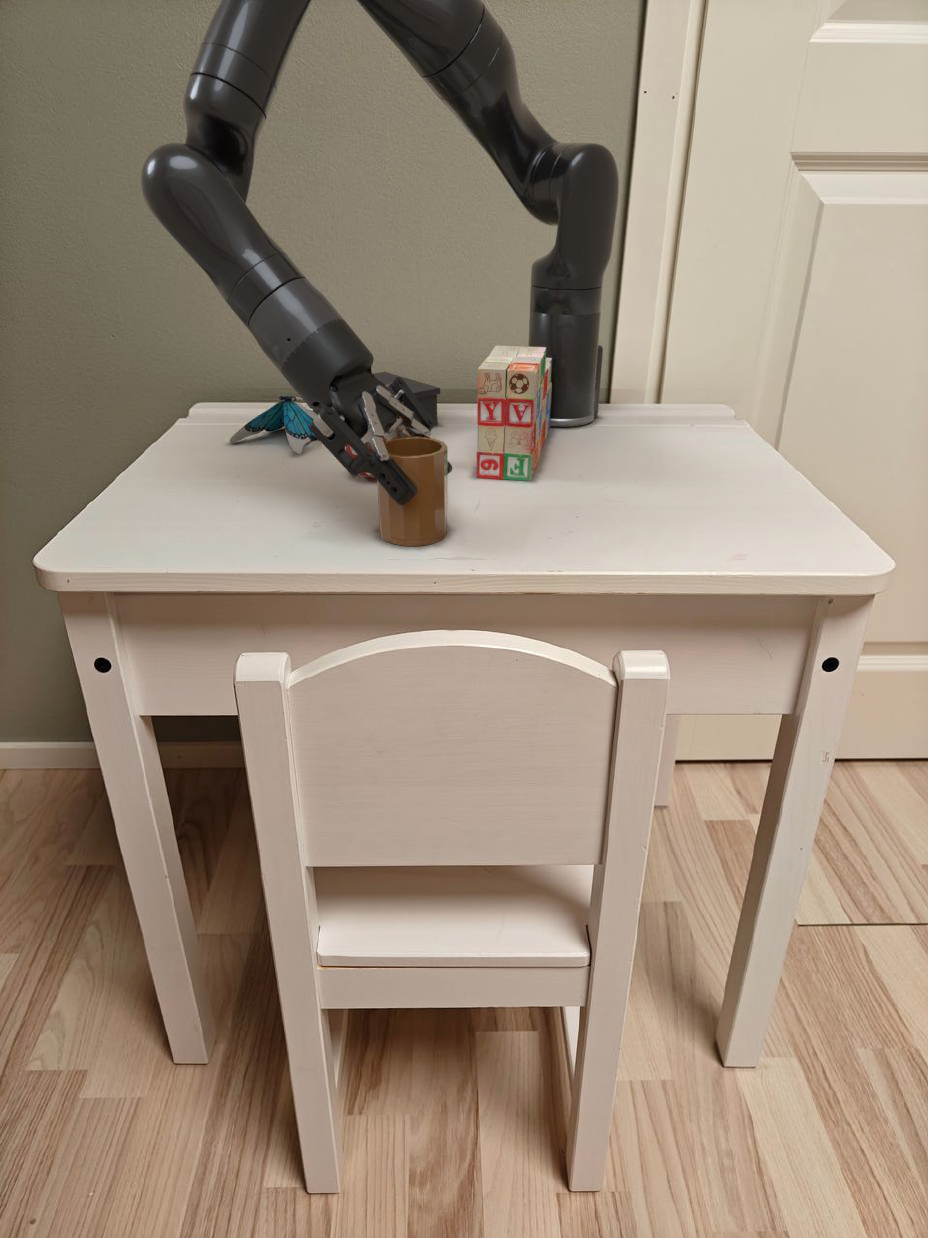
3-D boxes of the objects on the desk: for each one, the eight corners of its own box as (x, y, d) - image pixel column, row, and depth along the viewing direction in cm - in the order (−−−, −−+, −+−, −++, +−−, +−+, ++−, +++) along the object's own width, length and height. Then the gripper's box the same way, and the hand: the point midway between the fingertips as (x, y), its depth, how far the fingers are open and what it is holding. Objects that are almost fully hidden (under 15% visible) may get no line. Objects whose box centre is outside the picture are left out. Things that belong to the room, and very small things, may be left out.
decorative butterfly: (342, 401, 111) (297, 398, 102) (339, 452, 112) (294, 453, 103) (277, 393, 114) (228, 389, 105) (275, 442, 116) (226, 443, 107)
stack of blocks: (503, 426, 115) (506, 330, 109) (550, 429, 114) (555, 332, 108) (475, 478, 96) (477, 366, 91) (531, 481, 96) (536, 368, 90)
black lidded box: (386, 406, 124) (385, 371, 122) (440, 425, 115) (440, 387, 113) (310, 421, 117) (307, 384, 114) (362, 442, 108) (360, 403, 106)
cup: (419, 515, 86) (418, 432, 82) (461, 535, 82) (461, 448, 78) (366, 531, 83) (362, 444, 79) (407, 552, 78) (404, 462, 74)
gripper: (285, 329, 70) (416, 488, 71) (375, 305, 82) (486, 442, 83) (241, 387, 75) (365, 536, 76) (331, 357, 86) (438, 486, 87)
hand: (428, 486), depth 79 cm, fingers closed on cup, 6 cm apart
